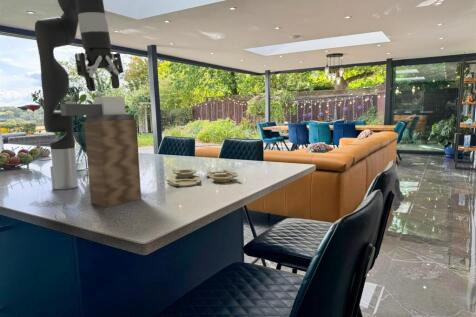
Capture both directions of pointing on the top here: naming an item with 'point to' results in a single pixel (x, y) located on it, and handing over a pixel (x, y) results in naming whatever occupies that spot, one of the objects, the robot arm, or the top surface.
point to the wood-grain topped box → (112, 159)
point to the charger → (96, 107)
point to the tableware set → (191, 182)
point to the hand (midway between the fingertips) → (104, 89)
